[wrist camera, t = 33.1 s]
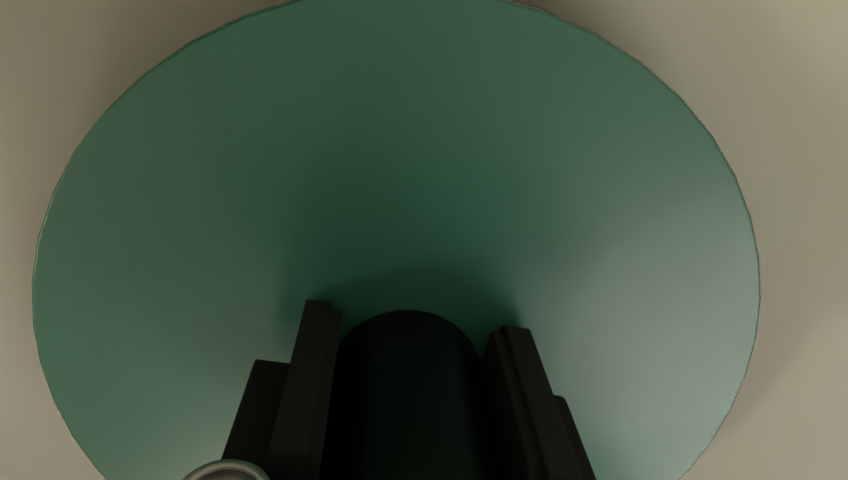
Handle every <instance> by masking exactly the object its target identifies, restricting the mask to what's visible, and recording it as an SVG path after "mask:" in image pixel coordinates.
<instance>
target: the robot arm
mask: <svg viewBox="0 0 848 480" xmlns="http://www.w3.org/2000/svg"><path fill="white" fill-rule="evenodd" d="M332 309H333V303H332V302H324V301H317V300H309V299H306V302H305V306H304V310H303V314H302V318H301V322H300V326H299V330H298V334H297V338H296V342H295V346H294V350H293V354H292V357H291V361H290V363H284V362H275V361H267V360H259V359H256V360H255V362H254V364H253V367H252V370H251V372H250V375H249V378H248V381H247V384H246V387H245V390H244V393H243V396H242V399H241V402H240V405H239V408H238V411H237V414H236V417H235V419H234V422H233V425H232V428H231V431H230V434H229V437H228V440H227V443H226V446H225V449H224V452H223V455H222V458H221V460H216V461H213V462H210V463H207V464H204V465H201V466H199V467H198V468H196V469H195V470H193V471H191V472H190V473H188V474H187V475H186V476H185V477H184V479H183V480H319V473H320V467H321V460H322V453H323V446H324V439H325V432H326V425H327V418H328V411H329V404H330V397H331V390H332V383H333V376H334V369H335V362H336V355H337V348H338V341H339V334H340V327H341V320H342V313H343V311H338V310H332ZM480 370H481V375H482V380H483V385H484V390H485V395H486V400H487V404H488V409H489V414H490V419H491V424H492V429H493V434H494V439H495V444H496V448H497V453H498V458H499V463H500V468H501V473H502V478H503V480H596V477H595V475H594V472H593V469H592V467H591V464H590V461H589V459H588V456H587V454H586V451H585V448H584V446H583V443H582V440H581V438H580V435H579V433H578V430H577V427H576V425H575V422H574V419H573V417H572V414H571V412H570V409H569V406H568V404H567V402H566V400H565V398H564V397H562V396H559V395H553V392H552V389H551V386H550V384H549V381H548V378H547V375H546V372H545V370H544V367H543V364H542V361H541V358H540V356H539V353H538V350H537V347H536V344H535V341H534V339H533V336H532V333H531V331H530V329H528V328H520V327H513V326H505V325H503V326H501V328H500V330H499V332H498V331H492V332H491V333H490V336H489V339H488V343H487V346H486V350H485V353H484V357H483V361H482V364H481V368H480Z"/></svg>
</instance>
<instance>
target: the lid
mask: <svg viewBox="0 0 848 480" xmlns="http://www.w3.org/2000/svg"><path fill="white" fill-rule="evenodd" d="M306 299H309V300H317V301H324V302H332V303H333V309H332V310H338V311H343V313H342V320H341V327H340V334H339V341H338V348H337V355H336V362H335V369H334V376H333V383H332V390H331V397H330V404H329V411H328V418H327V425H326V432H325V439H324V446H323V453H322V460H321V467H320V473H319V480H503V478H502V473H501V468H500V463H499V458H498V453H497V448H496V444H495V439H494V434H493V429H492V424H491V419H490V414H489V409H488V404H487V400H486V395H485V390H484V385H483V380H482V375H481V370H480V368H481V364H482V361H483V357H484V353H485V350H486V346H487V343H488V339H489V336H490V333H491V332H492V331H498V332H499V330H500V328H501V326H503V325H505V326H513V327H520V328H528V329H530V331H531V333H532V336H533V339H534V341H535V344H536V347H537V350H538V353H539V356H540V358H541V361H542V364H543V367H544V370H545V372H546V375H547V378H548V381H549V384H550V386H551V389H552V392H553V395H559V396H562V397H564V398H565V400H566V402H567V404H568V406H569V409H570V412H571V414H572V417H573V419H574V422H575V425H576V427H577V430H578V433H579V435H580V438H581V440H582V443H583V446H584V448H585V451H586V454H587V456H588V459H589V461H590V464H591V467H592V469H593V472H594V475H595V477H596V480H679V479H680V478H681V477H682V476H683V475H684V474H685V473H686V472H687V471H688V470H689V469H690V468H691V467H692V465H693V464H694V463H695V461H696V460H697V459H698V458H699V456H700V455H701V454H702V452H703V451H704V450H705V449H706V447H707V446H708V445H709V444H710V442H711V441H712V439H713V438H714V436H715V434H716V433H717V431H718V429H719V428H720V426H721V424H722V423H723V421H724V419H725V418H726V416H727V414H728V413H729V411H730V409H731V407H732V405H733V403H734V400H735V398H736V396H737V393H738V391H739V389H740V386H741V384H742V382H743V379H744V377H745V375H746V372H747V368H748V364H749V361H750V357H751V353H752V350H753V346H754V342H755V339H756V332H757V324H758V315H759V307H760V299H761V298H760V271H759V256H758V251H757V246H756V241H755V236H754V231H753V226H752V221H751V216H750V213H749V211H748V208H747V205H746V203H745V200H744V197H743V195H742V192H741V190H740V187H739V184H738V182H737V179H736V176H735V174H734V172H733V171H732V169H731V167H730V165H729V164H728V162H727V160H726V159H725V157H724V155H723V153H722V152H721V150H720V148H719V147H718V145H717V143H716V141H715V140H714V138H713V136H712V135H711V133H710V132H709V131H708V130H707V129H706V127H705V126H704V125H703V124H702V123H701V121H700V120H699V119H698V118H697V116H696V115H695V114H694V113H693V112H692V110H691V109H690V108H689V107H688V106H687V104H686V103H685V102H684V101H683V100H682V98H681V97H680V96H679V95H678V94H676V93H675V92H674V91H673V90H672V89H671V88H670V87H668V86H667V85H666V84H665V83H664V82H663V81H662V80H660V79H659V78H658V77H657V76H656V75H655V74H654V73H653V72H651V71H650V70H649V69H648V68H647V67H646V66H645V65H643V64H642V63H641V62H639V61H638V60H636V59H635V58H633V57H632V56H630V55H628V54H627V53H625V52H624V51H622V50H621V49H619V48H617V47H616V46H614V45H613V44H611V43H610V42H608V41H606V40H605V39H603V38H602V37H600V36H598V35H597V34H595V33H593V32H591V31H589V30H586V29H584V28H582V27H580V26H577V25H575V24H573V23H570V22H568V21H566V20H564V19H561V18H559V17H557V16H555V15H552V14H550V13H548V12H546V11H543V10H541V9H538V8H535V7H531V6H528V5H524V4H520V3H517V2H513V1H510V0H291V1H287V2H284V3H281V4H278V5H275V6H271V7H268V8H265V9H262V10H259V11H255V12H252V13H249V14H247V15H244V16H242V17H240V18H238V19H236V20H234V21H232V22H230V23H228V24H226V25H224V26H222V27H220V28H218V29H215V30H213V31H211V32H209V33H207V34H205V35H203V36H201V37H199V38H197V39H195V40H193V41H191V42H189V43H188V44H186V45H185V46H183V47H182V48H181V49H179V50H178V51H176V52H175V53H173V54H172V55H170V56H169V57H167V58H166V59H165V60H163V61H162V62H160V63H159V64H157V65H156V66H154V67H153V68H151V69H150V70H148V71H147V72H146V73H144V74H143V75H142V76H141V77H140V78H139V79H138V80H137V81H136V82H135V83H134V84H133V85H132V86H131V87H129V88H128V89H127V90H126V91H125V92H124V93H123V94H122V95H121V96H120V97H119V98H118V99H117V100H116V101H115V102H114V103H113V104H112V105H110V106H109V107H108V108H107V109H106V110H105V112H104V113H103V114H102V115H101V117H100V118H99V119H98V121H97V122H96V123H95V125H94V126H93V127H92V129H91V130H90V131H89V133H88V134H87V135H86V137H85V138H84V139H83V140H82V142H81V143H80V144H79V146H78V147H77V148H76V150H75V151H74V153H73V155H72V157H71V159H70V161H69V163H68V165H67V166H66V168H65V170H64V172H63V174H62V176H61V178H60V180H59V182H58V184H57V186H56V187H55V189H54V191H53V193H52V196H51V199H50V202H49V205H48V208H47V212H46V215H45V218H44V221H43V224H42V227H41V230H40V233H39V236H38V242H37V249H36V256H35V263H34V270H33V277H32V306H33V327H34V332H35V337H36V342H37V347H38V353H39V358H40V363H41V366H42V369H43V372H44V375H45V377H46V380H47V383H48V386H49V389H50V391H51V394H52V397H53V400H54V402H55V404H56V406H57V408H58V410H59V411H60V413H61V415H62V417H63V419H64V421H65V423H66V425H67V426H68V428H69V430H70V432H71V434H72V436H73V437H74V439H75V440H76V441H77V443H78V444H79V446H80V447H81V448H82V450H83V451H84V452H85V454H86V455H87V457H88V458H89V459H90V461H91V462H92V463H93V465H94V466H95V468H96V469H97V470H98V471H99V472H100V473H101V474H102V475H103V476H104V477H105V478H106V479H107V480H183V479H184V477H185V476H186V475H187V474H188V473H190V472H191V471H193V470H195V469H196V468H198V467H199V466H201V465H204V464H207V463H210V462H213V461H216V460H221V458H222V455H223V452H224V449H225V446H226V443H227V440H228V437H229V434H230V431H231V428H232V425H233V422H234V419H235V417H236V414H237V411H238V408H239V405H240V402H241V399H242V396H243V393H244V390H245V387H246V384H247V381H248V378H249V375H250V372H251V370H252V367H253V364H254V362H255V360H256V359H259V360H267V361H275V362H284V363H290V361H291V357H292V354H293V350H294V346H295V342H296V338H297V334H298V330H299V326H300V322H301V318H302V314H303V310H304V306H305V302H306Z"/></svg>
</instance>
